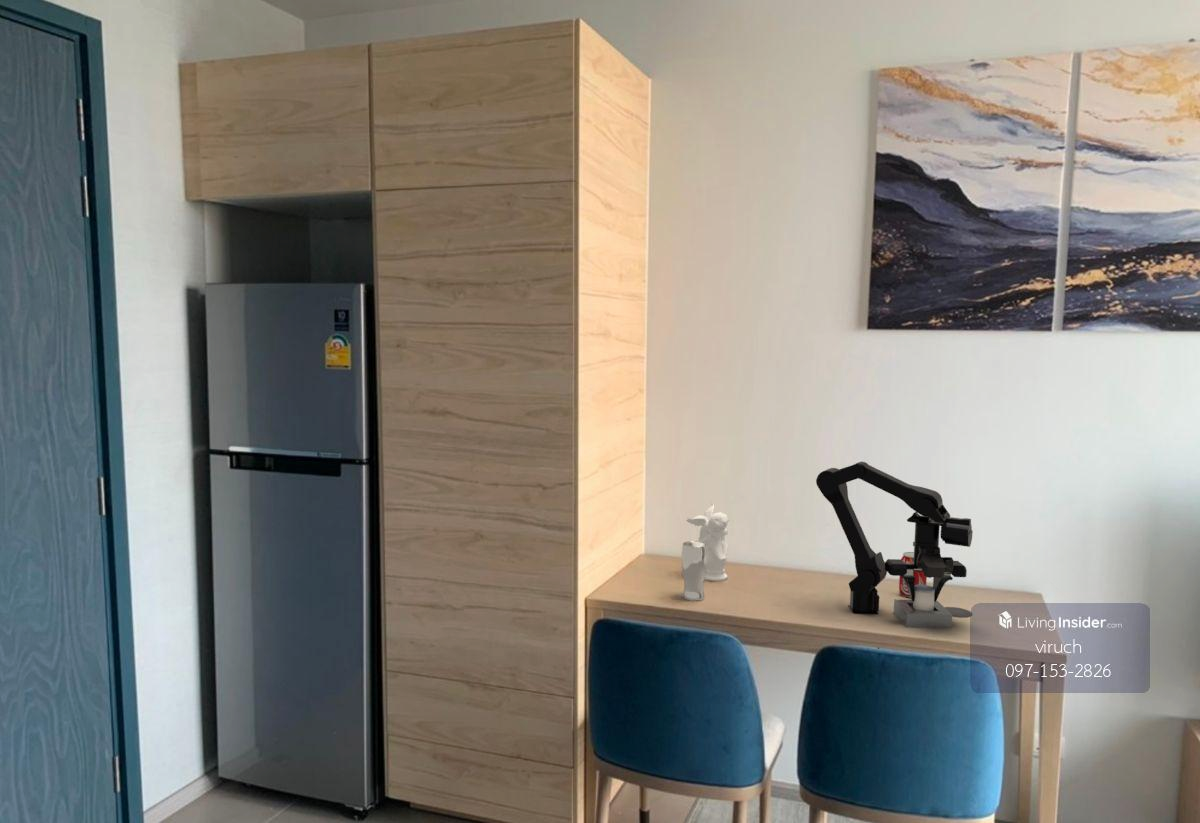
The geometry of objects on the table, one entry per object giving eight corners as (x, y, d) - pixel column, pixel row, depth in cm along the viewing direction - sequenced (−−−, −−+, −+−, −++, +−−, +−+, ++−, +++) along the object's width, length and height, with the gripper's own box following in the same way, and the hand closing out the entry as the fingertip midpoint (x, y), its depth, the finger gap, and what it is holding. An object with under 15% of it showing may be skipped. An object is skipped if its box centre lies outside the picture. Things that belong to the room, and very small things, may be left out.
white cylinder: (915, 621, 218) (917, 590, 217) (909, 614, 223) (911, 584, 222) (936, 622, 218) (937, 590, 217) (929, 615, 223) (930, 584, 222)
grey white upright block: (709, 595, 240) (710, 542, 239) (701, 603, 234) (702, 548, 232) (685, 592, 243) (686, 539, 242) (677, 599, 237) (678, 545, 235)
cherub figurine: (729, 583, 252) (731, 509, 250) (686, 582, 253) (688, 508, 250) (724, 571, 264) (726, 500, 262) (683, 570, 265) (685, 499, 262)
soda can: (927, 601, 238) (929, 558, 236) (900, 599, 239) (902, 557, 238) (923, 593, 244) (925, 552, 243) (897, 592, 246) (899, 550, 245)
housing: (906, 629, 216) (907, 613, 215) (893, 614, 227) (894, 599, 226) (951, 630, 215) (952, 614, 215) (936, 615, 226) (937, 600, 226)
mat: (945, 618, 224) (945, 616, 224) (935, 608, 232) (935, 606, 232) (977, 619, 223) (977, 617, 223) (965, 609, 231) (965, 607, 231)
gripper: (898, 548, 211) (895, 610, 212) (976, 550, 210) (973, 612, 212) (885, 537, 222) (882, 596, 224) (959, 538, 221) (956, 598, 223)
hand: (923, 601), depth 220 cm, fingers closed on white cylinder, 5 cm apart
